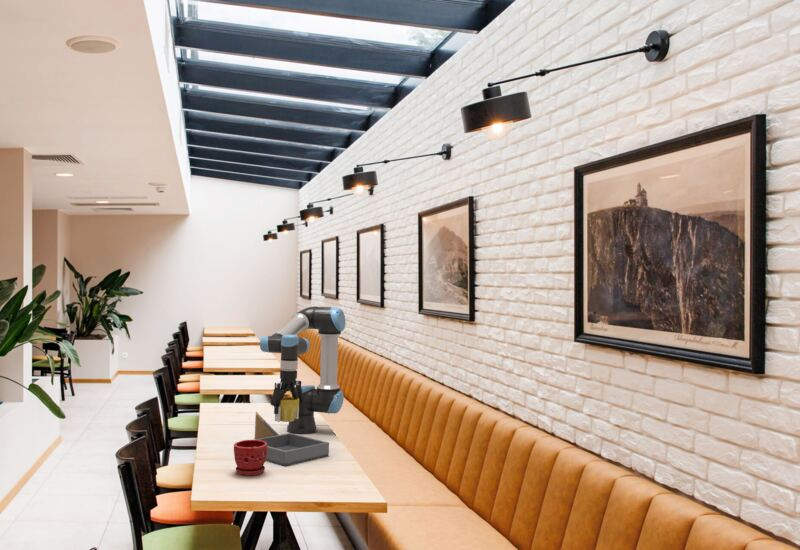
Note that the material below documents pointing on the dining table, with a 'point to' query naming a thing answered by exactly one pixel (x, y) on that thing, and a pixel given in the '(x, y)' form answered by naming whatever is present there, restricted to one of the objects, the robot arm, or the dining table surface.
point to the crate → (294, 449)
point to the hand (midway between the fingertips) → (286, 419)
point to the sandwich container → (263, 428)
